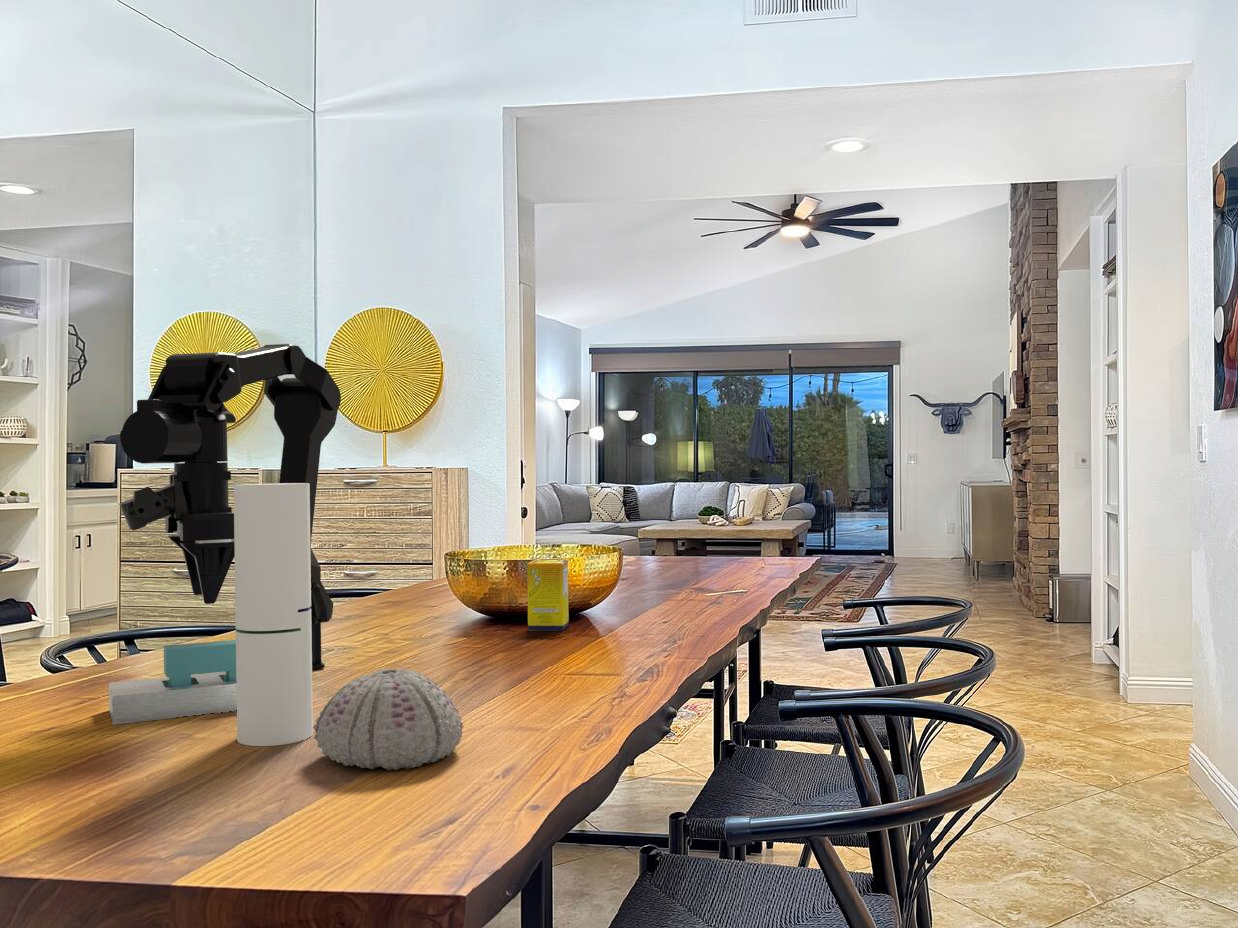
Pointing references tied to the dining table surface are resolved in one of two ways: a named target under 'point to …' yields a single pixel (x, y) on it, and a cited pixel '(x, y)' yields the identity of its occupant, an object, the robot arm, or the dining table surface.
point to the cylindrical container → (273, 613)
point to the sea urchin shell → (389, 721)
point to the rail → (170, 698)
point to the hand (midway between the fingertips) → (203, 598)
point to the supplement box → (547, 595)
